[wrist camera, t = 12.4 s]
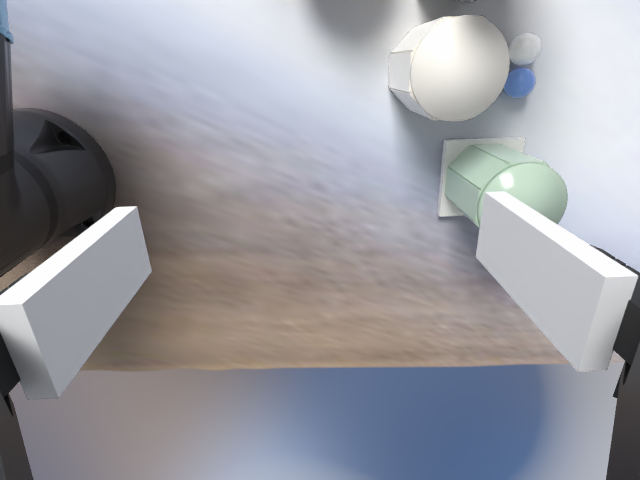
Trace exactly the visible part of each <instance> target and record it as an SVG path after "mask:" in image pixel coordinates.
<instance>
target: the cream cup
mask: <svg viewBox="0 0 640 480" xmlns="http://www.w3.org/2000/svg"><path fill="white" fill-rule="evenodd" d="M390 53H391V54H389V81H388V87H390V88H389V89H390V90H391V91H392V92H393V93H394V95H395V96H396V97H397V98H398V99H399V100H400V101H401V102H402V103H403V104H404V105H405V106H406V107H407V109H408V110H411V111H413V112H415V113H417V114H420V115H422V116H424V117H427V118H429V119H431V120H434V121H455V122H456V121H463V120H470V118H471V119H472V118H473V117H475V116H477V115H479V114H480V113H482V112H483V111H485V110H486V109H487V108H488V107H489V106H491V104H492V103H493V102H494V101H495V100H496V99H497V97H498V96H499V94H500V93H501V91H502V89H503V87H504V85H505V83H506V80H507V77H508V72H509V65H510V55H509V49H508V45H507V42H506V40H505V38H504V36H503V34H502V33H501V31H500V30H499V29H498V28H497V27H496V26H495V25H494V24H493V23H492V22H490V21H488V20H487V19H486V18H485V17H482V16H474V15H462V16H451V17H441V18H438V19H435V20H432V21H429V22H427V23H424V24H421V25H418V26H415V27H413V28H412V29H411V30H410V31H409V32H408V33H407V35H406V36H405V37H404V38H403V39H402V40H401V41H400V42H399V43H398V44H397V46H396V47H395V48H394V49H393V50H392V51H391V52H390Z"/></svg>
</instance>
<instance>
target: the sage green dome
mask: <svg viewBox="0 0 640 480" xmlns="http://www.w3.org/2000/svg"><path fill="white" fill-rule="evenodd" d="M448 166H449V167H447V173H446V183H445V196H446V197H447V198H448V199H449V200H450V201H451V202H452V203H453V204H454V205H455V206H456V207H457V208H458V209H459V210H460V211H461V212H462V213H463V214H464V215H465V216H466V217H467V218H468V219H469V220H470V221H471V222H472V223H473V224H475V225H476V226H477V227H478V228H479V229H480V222H481V215H482V208H483V201H484V194H485V192H499V191H505V192H507V193H508V194H510V195H511V196H513V197H515V198H516V199H518V200H519V201H521V202H522V203H524V204H526V205H527V206H529V207H530V208H532V209H534V210H535V211H537V212H538V213H540V214H541V215H543V216H545V217H546V218H548V219H549V220H551V221H553V222H554V223H556V224H558V223H559V222H560V220H561V218H562V216H563V214H564V212H565V209H566V206H567V197H568V195H567V188H566V185H565V183H564V180H563V179H562V177H561V176H560V175H559V174H558V173H557V172H556V171H554V170H553V169H551V168H550V167H549V165H548V164H547V163H546V162H544V161H542V160H539V159H537V158H534V157H532V156H529V155H527V154H524V153H522V152H519V151H517V150H514V149H512V148H510V147H507V146H505V145H502V144H500V143H496V144H471V146H470V145H469V146H468V147H467V148H466V149H465V150H464V151H463V152H462V153H461V154H460V155H459V156H458V157H457V158H456V159H455V160H453V161H452V162H451V163H450V164H449V165H448Z"/></svg>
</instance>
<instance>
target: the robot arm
mask: <svg viewBox="0 0 640 480" xmlns="http://www.w3.org/2000/svg"><path fill="white" fill-rule="evenodd" d="M10 44H13V36H12V34H11V33H10V32H9V24H8V14H7V3H6V0H0V277H1V276H3V275H4V274H6V273H7V272H8V271H10V270H11V269H12V268H14V267H15V266H17V265H18V264H19V263H21V262H22V261H23V260H25V259H26V258H27V257H29V256H30V255H32V254H33V253H34V252H35V251H37V250H38V249H41V248H46V247H51V246H57V245H62V244H67V243H68V244H67V245H66V246H65V247H63V248H62V249H61V250H59V251H58V252H57V253H55V254H54V255H53V256H51V257H50V258H49V259H47V260H46V261H45V262H44V263H42V264H41V265H40V266H38V267H37V268H36V269H34V270H33V271H31V272H29V273H27V274H25V275H23V276H21V277H20V278H18V279H17V280H16V281H14V282H13V283H12V284H10V285H9V288H5V289H4V290H2V291H1V292H0V480H33V476H32V473H31V469H30V465H29V461H28V457H27V454H26V450H25V446H24V443H23V438H22V435H21V431H20V427H19V423H18V419H17V415H16V412H15V408H14V404H13V402H12V400H11V398H10V395H9V392H10V391H11V390H12V389H13V388H14V387H15V385H16V384H17V383H18V382H19V381H20V383H21V386H22V388H23V390H24V392H25V395H26V397H27V399H28V400H30V399H49V398H59V397H60V396H61V394H62V393H63V392H64V390H65V389H66V388H67V386H68V385H69V383H70V382H71V381H72V379H73V378H74V377H75V375H76V374H77V372H78V371H79V370H80V368H81V367H82V366H83V364H84V363H85V362H86V360H87V359H88V358H89V356H90V355H91V354H92V352H93V351H94V349H95V348H96V347H97V345H98V344H99V343H100V341H101V340H102V339H103V337H104V336H105V334H106V333H107V332H108V330H109V329H110V328H111V326H112V325H113V324H114V322H115V321H116V319H117V318H118V317H119V315H120V314H121V313H122V311H123V310H124V309H125V307H126V306H127V305H128V303H129V302H130V300H131V299H132V298H133V296H134V295H135V294H136V292H137V291H138V290H139V288H140V287H141V285H142V284H143V283H144V281H145V280H146V279H147V277H148V276H149V275H150V273H151V272H152V270H151V266H150V261H149V257H148V252H147V248H146V244H145V239H144V235H143V231H142V226H141V222H140V217H139V213H138V209H137V206H132V207H116V208H114V209H113V210H112V211H111V209H112V207H113V203H114V199H115V179H114V175H113V171H112V168H111V165H110V163H109V161H108V159H107V157H106V155H105V153H104V152H103V150H102V149H101V147H100V146H99V145H98V144H97V142H96V141H95V140H94V139H93V138H92V137H91V136H90V135H89V134H88V133H87V132H86V131H85V130H84V129H82V128H81V127H80V126H78V125H77V124H75V123H74V122H72V121H71V120H69V119H67V118H65V117H63V116H61V115H58V114H56V113H53V112H50V111H46V110H41V109H34V108H21V109H14V110H13V103H12V74H11V45H10ZM110 211H111V212H110ZM476 258H477V259H478V260H479V261H480V263H481V264H482V265H483V266H484V267H485V268H486V269H487V270H488V272H489V273H490V274H491V275H492V276H493V277H494V278H495V279H496V281H497V282H498V283H499V284H500V285H501V286H502V287H503V288H504V290H505V291H506V292H507V293H508V294H509V295H510V296H511V297H512V298H513V300H514V301H515V302H516V303H517V304H518V305H519V306H520V307H521V309H522V310H523V311H524V312H525V313H526V314H527V315H528V316H529V318H530V319H531V320H532V321H533V322H534V323H535V324H536V325H537V327H538V328H539V329H540V330H541V331H542V332H543V333H544V334H545V336H546V337H547V338H548V339H549V340H550V341H551V342H552V343H553V345H554V346H555V347H556V348H557V349H558V350H559V351H560V352H561V354H562V355H563V356H564V357H565V358H566V359H567V360H568V361H569V363H570V364H571V365H572V366H573V367H574V368H575V369H576V370H577V371H578V372H581V371H599V370H607V369H608V366H609V363H610V360H611V357H612V354H613V351H615V352H616V353H618V354H619V355H620V356H621V357H622V358H623V359H624V360H625V363H624V366H623V369H622V372H621V375H620V377H619V380H618V383H617V386H616V389H615V392H614V394H613V397H615V398H617V405H616V412H615V419H614V426H613V434H612V441H611V448H610V455H609V463H608V469H607V476H606V480H640V273H639V272H638V271H636V270H635V269H633V268H631V267H630V266H626V264H625V263H623V262H622V261H620V260H618V259H615V257H614V256H612V255H610V254H609V253H607V252H606V251H604V250H602V249H600V248H597V247H595V246H592V245H589V244H587V243H586V242H584V241H583V240H581V239H579V238H578V237H576V236H575V235H573V234H572V233H570V232H568V231H567V230H565V229H564V228H562V227H560V226H559V225H557V224H556V223H554V222H553V221H551V220H549V219H548V218H546V217H545V216H543V215H541V214H540V213H538V212H537V211H535V210H534V209H532V208H530V207H529V206H527V205H526V204H524V203H522V202H521V201H519V200H518V199H516V198H515V197H513V196H511V195H510V194H508V193H507V192H505V191H499V192H485V194H484V201H483V208H482V215H481V222H480V229H479V236H478V244H477V251H476Z"/></svg>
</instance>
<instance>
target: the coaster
mask: <svg viewBox="0 0 640 480" xmlns="http://www.w3.org/2000/svg"><path fill="white" fill-rule="evenodd" d="M525 140H526V138H523V137H509V138H482V139H456V140H444V142H443V153H442V163H441V174H440V185H439V195H438V206H437V215H438V216H439V217H445V216H465V215H464V214H463V213H462V212H461V211H460V210H459V209H458V208H457V207H456V206H455V205H454V204H453V203H452V202H451V201H450V200H449V199H448V198H447V197H446V196H445V183H446V173H447V167H449V166H448V165H449V164H450V163H451V162H452V161H453V160H455V159H456V158H457V157H458V156H459V155H460V154H461V153H462V152H463V151H464V150H465V149H466V148H467V147H468V146H469V145H470V146H471V144H496V143H500V144H502V145H505V146H507V147H510V148H512V149H514V150H517V151H519V152H522V153H523V152H524V146H525Z"/></svg>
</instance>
